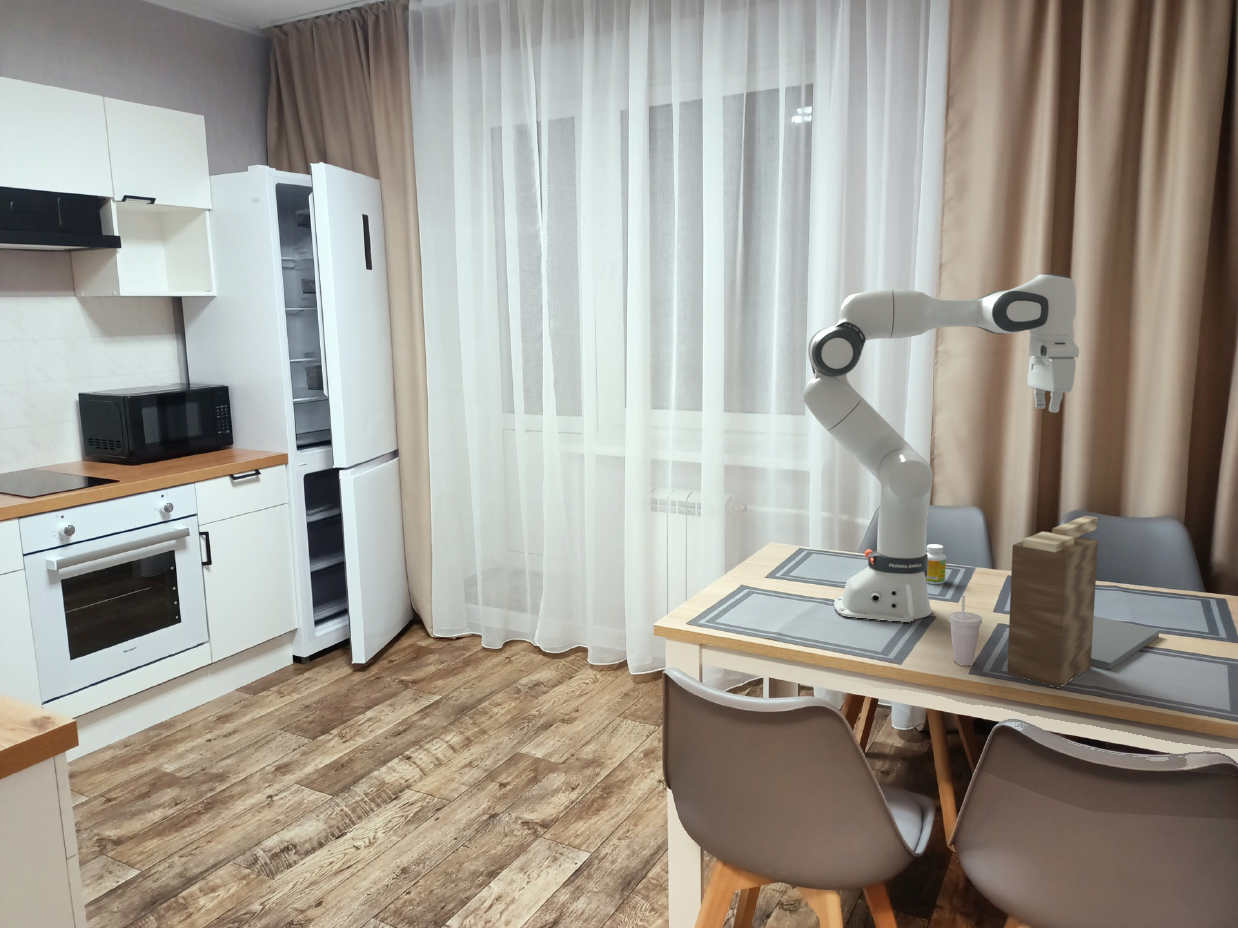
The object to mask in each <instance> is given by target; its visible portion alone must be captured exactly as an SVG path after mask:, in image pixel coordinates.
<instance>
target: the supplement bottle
mask: <svg viewBox="0 0 1238 928" xmlns="http://www.w3.org/2000/svg"><path fill="white" fill-rule="evenodd" d="M943 552H944V546H943V545H941V544H935V543H931V544H928V545H927V544H926V553H927V555H928V573H927V577H926V583H927V584H929V583H930V585H942V583H943V584H945V582H946V568H947V567H946V566H947V565H946V560H947V557H946V555H945V553H943Z"/></svg>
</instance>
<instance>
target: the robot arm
mask: <svg viewBox="0 0 1238 928" xmlns="http://www.w3.org/2000/svg"><path fill="white" fill-rule="evenodd" d="M1076 291H1077V290H1076V284H1075V282H1074V280H1073V279H1072V278H1071V277H1068V276H1067V275H1063V274H1057V273H1041V274H1038V275H1037V276H1036V277H1034V278H1032V279H1031V280H1029V281H1027V282H1026V283H1023V284H1021V285H1018V286H1016V287H1014V288H1011V289H1008V290H995V291H993V292H990V293H988V294H986V295H984V296H982V297H977V298H973V299H972V298H971V299H940V298H939V299H938V298H934V297H932V296H929V295H928V294H926V293H925V292H922V291H918V290H913V289H912V290H911V289H903V288H902V289H901V288H899V289H898V288H897V289H895V288H893V289H891V288H890V289H889V288H888V289H878V290H869V291H864V292H859V293H858V292H857V293H853V294H850V295H848V296H847V297H846V298H845V300H844V301H843V303H842V305H841V307H840V312H839V320H838V322H837V323H836V324H835V325H833V326H828V327H824V328H822V329H819V330H818V331H817V332H815V333H814V335H812V337H811V339H810V341H809V344H808V348H807V349H808V351H807V352H808V358H809V362H810V365H811V369H812V372H813V376H812V378H811V379H810V380H809V381H808V382H807V384H806V385H805V388H804V389H803V393H802V398H803V402H804V403H805V405H806V406H807V408H808V410H809V411H810V412H811V414H812V415H813V416H814V417H815V418H816V420H817V422H819V424H821V426H822V427H823V428H824V429H825V430H826V431H828V433H829V434H830V435H831V436H832V437H833V438H834V439H835V440H836V441H838V443H839V444H840V445H841V446H842V447H843V448H844V449H845V450H846V451H847V452H848V453H849V454H850V455H851V456H852V457H854V459H856V461H858V462H859V463H860V464H861V465H862V466H863V467H864V468H865V469H866V470H867V471H868V472H869V473H871V474H872V476H874V477H875V479H876V480H878V481H879V483H880V485H881V491H880V502H879V510H878V511H879V512H878V517H877V539H876V542H877V544H876V545H877V546H876V548H877V549H876V550H875V551H873V550H872V549H866V550H865V551H864V556H865V559H867V563H868V564H867V565H868V566H866V567H865V568H862V570H860V571H859V572H858V573H855V575H853V576H851V577H849V579H847V581H846V583H845V586H844V588H843V589H844V590H843V595H840V596H837V598H835V600H834V601H833V608H834V607H835V609H836V610H837V611H838V612H839V613H840V614H842V615H843V616H851V617H856V618H855V619H857V618H868V619H867V620H869V619H871V618H872V619H884V620H888V621H887V622H892V621H901V622H900V623H903V622H909V623H911V621H912V622H913V621H915V620H918V619H921V618H922V619H923V618H925V617H928V616H930V615H931V614H932V612H933V611H932V607H931V603H930V598H929V593H928V586H927V585H928V583H926V577H927V573H928V555H927V553H928V552H927V533H928V532H927V525H928V516H929V510H930V505H931V497H932V489H933V488H932V486H933V476H934V475H933V469H932V467H931V465H930V464H929V462H928V461H927V460H926V459H925V458H924V457H923V456H922V455H920V453H918V452H917V450H916V449H914V448H913V447H912V445H910V443H909V442H908V441H906V440H905V438H903V437H902V435H900V434H899V433H898V431H896V429H894V428H893V426H892V425H891V424H890V423H889V422H888V421H887V420H886V419H885V418H884V417H883V416H882V415H881V414H880V413H879V412H878V411H877V410H876V409H875V408H874V407H873V406H872V405H871V404H870V403H869V402H868V401H867V400H866V399H865V398H864V397H862V395H861V394H860V393H859V392H858V391H856V389H854V387H853V386H852V385H851V384H850V381H849V379H848V374H849V373H850V372H851V371H853V370H854V369H855V367H856V366H857V365H858V363H859V361H860V359H861V356H862V352H863V349H864V347H865V344H866V341H868V340H876V339H903V338H912V337H915V336H920V335H922V334H925V333H926V332H928V331H930V330H935V329H937V328H948V327H949V328H950V327H951V328H952V327H953V328H954V327H957V328H959V327H962V328H963V327H975V328H979V329H980V330H981V329H982V330H984V331H985V332H988V333H991V334H995V335H1004V334H1017V333H1022V332H1024V331H1029V344H1028V345H1029V346H1028V347H1029V349H1028V356H1029V357H1030V358H1029V363H1028V371H1027V386H1028V387H1029V388H1033V389H1034V390H1033V395H1034V399H1035V407H1034V408H1036V409H1039V410H1041V409H1042V410H1043V409H1045V408H1046V399H1045V398H1046V396H1045V394H1046V392H1050V395H1049V396H1050V397H1051V398H1050V403H1048V412H1050V413H1059V411H1060V405H1061V402H1062V401H1063V397H1064V395H1063V394H1064V393H1071V391H1072V389H1073V385H1074V380H1075V372H1076V365H1077V364H1076V361H1077V360H1076V358H1079V354H1080V347H1078V345H1077V344H1076V343H1075V330H1074V320H1075V317H1076V312H1077V311H1076V310H1077V292H1076ZM835 609H834V610H835ZM843 616H842V617H843ZM914 619H915V620H914ZM890 620H892V621H890Z"/></svg>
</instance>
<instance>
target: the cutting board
mask: <svg viewBox="0 0 1238 928" xmlns="http://www.w3.org/2000/svg"><path fill="white" fill-rule="evenodd" d="M1159 637H1160V630H1159V629H1156V628H1150V627H1146V626H1144V625H1143V626H1141V625H1137V624H1133V623H1127V622H1124V621H1120V620H1115V619H1110V618H1105V617H1101V616H1096V615H1094V619H1093V636H1092V653H1091V665H1093V666H1092V667H1096V668H1099V667H1100V668H1099V669H1104V670H1107V669H1109V670H1108V671H1111V670H1112V669H1114V668H1115V667H1116V666H1119V664H1121V663H1122V662H1124V661H1126V660H1127V659H1129V658H1130V657H1132V656H1134V654H1135V653H1137V652H1139V651H1140V650H1142V649H1143V648H1144V647H1146V646H1148V645H1149V644H1150V643H1152V642H1153V641H1155V640H1156V639H1158V638H1159ZM1113 667H1114V668H1113ZM1110 669H1111V670H1110Z"/></svg>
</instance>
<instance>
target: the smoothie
mask: <svg viewBox="0 0 1238 928" xmlns="http://www.w3.org/2000/svg"><path fill="white" fill-rule="evenodd" d="M965 603H966V595H962V596H961V611H953V612H951V613H950V614H948V621H949V623H950V631H951V632H950V633H951V643H952V644H951V645H952V652H953V653H952V654H953V662H954V661H955V662H956V663H959V664H962V665H961V666H963V665H970V666H972V665H971V664H973V663H975V658H976V651H977V646H978V641H979V634H980V629H981V625H982V624H983V617H982V616H981V615H979V614H977V613H974V612H968V611H965V609H966V607H965V606H966V605H965ZM955 662H954V663H955ZM956 663H955V664H956ZM973 665H974V664H973Z"/></svg>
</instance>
